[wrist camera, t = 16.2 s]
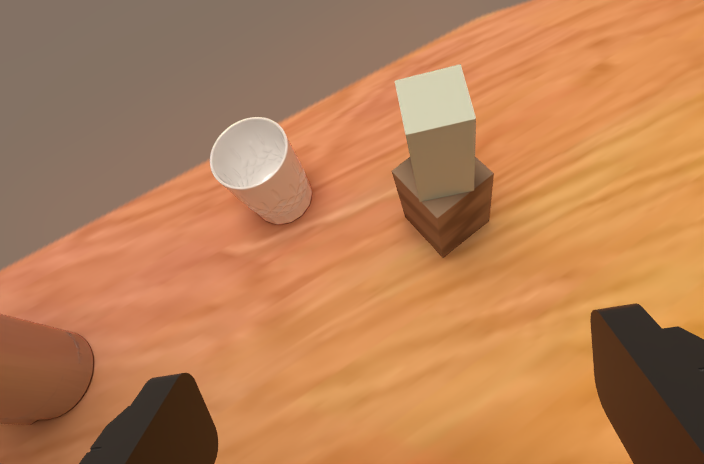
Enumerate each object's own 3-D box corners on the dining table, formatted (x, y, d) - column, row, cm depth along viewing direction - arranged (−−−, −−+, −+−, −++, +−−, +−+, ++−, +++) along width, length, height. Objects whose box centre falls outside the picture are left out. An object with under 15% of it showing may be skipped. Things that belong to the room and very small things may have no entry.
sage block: (474, 190, 40) (475, 118, 31) (419, 202, 40) (405, 135, 31) (462, 144, 42) (460, 64, 33) (410, 156, 42) (394, 80, 33)
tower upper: (440, 240, 44) (437, 218, 40) (399, 196, 47) (391, 171, 42) (491, 199, 44) (493, 173, 40) (447, 158, 47) (445, 129, 42)
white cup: (278, 156, 57) (242, 105, 48) (330, 184, 54) (303, 135, 45) (238, 210, 56) (194, 167, 47) (290, 241, 53) (253, 202, 44)
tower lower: (443, 257, 49) (440, 240, 44) (405, 217, 51) (399, 196, 47) (489, 221, 49) (491, 199, 44) (449, 182, 51) (447, 158, 47)
